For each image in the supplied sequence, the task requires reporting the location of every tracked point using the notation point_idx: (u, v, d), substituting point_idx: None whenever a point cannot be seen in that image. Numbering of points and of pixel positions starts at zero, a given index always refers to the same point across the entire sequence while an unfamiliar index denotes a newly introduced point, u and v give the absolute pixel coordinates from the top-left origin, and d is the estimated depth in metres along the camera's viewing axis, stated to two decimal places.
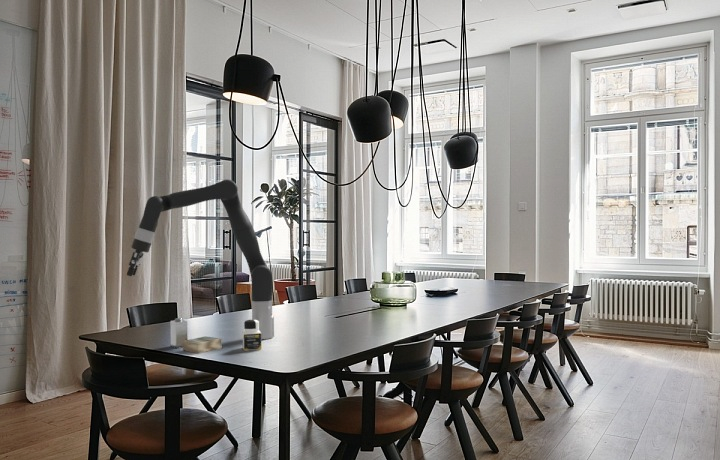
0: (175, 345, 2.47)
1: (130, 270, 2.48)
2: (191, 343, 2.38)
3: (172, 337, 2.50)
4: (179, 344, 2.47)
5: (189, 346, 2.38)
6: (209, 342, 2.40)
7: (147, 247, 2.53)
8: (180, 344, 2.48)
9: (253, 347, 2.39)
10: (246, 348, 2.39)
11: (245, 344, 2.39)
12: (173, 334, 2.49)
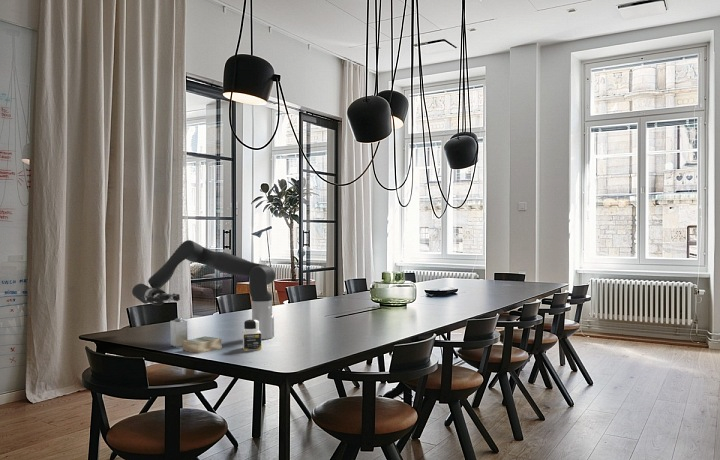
0: (175, 345, 2.47)
1: (154, 300, 2.57)
2: (191, 343, 2.38)
3: (172, 337, 2.50)
4: (179, 344, 2.47)
5: (189, 346, 2.38)
6: (209, 342, 2.40)
7: (152, 290, 2.68)
8: (180, 344, 2.48)
9: (253, 347, 2.39)
10: (246, 348, 2.39)
11: (245, 344, 2.39)
12: (173, 334, 2.49)
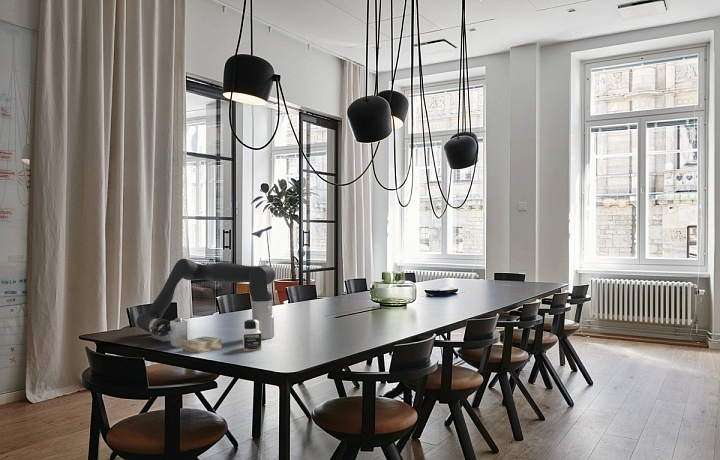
0: (175, 345, 2.47)
1: (159, 331, 2.54)
2: (191, 343, 2.38)
3: (172, 337, 2.50)
4: (179, 344, 2.47)
5: (189, 346, 2.38)
6: (209, 342, 2.40)
7: (157, 321, 2.64)
8: (180, 344, 2.48)
9: (253, 347, 2.39)
10: (246, 348, 2.39)
11: (245, 344, 2.39)
12: (173, 334, 2.49)
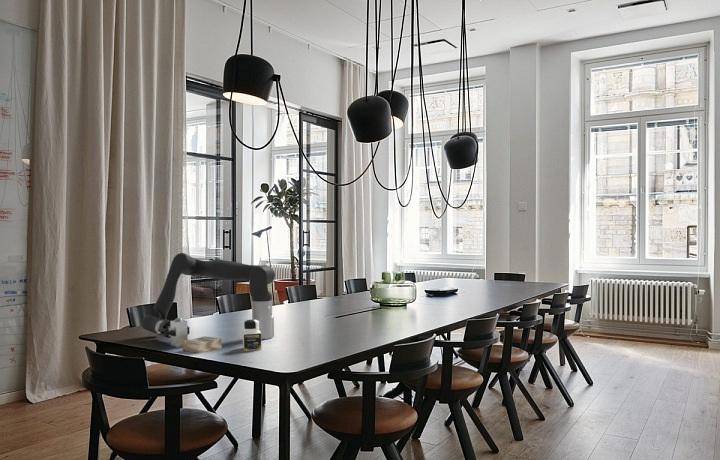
0: (175, 345, 2.47)
1: (170, 333, 2.48)
2: (191, 343, 2.38)
3: (172, 337, 2.50)
4: (179, 344, 2.47)
5: (189, 346, 2.38)
6: (209, 342, 2.40)
7: (163, 322, 2.58)
8: (180, 344, 2.48)
9: (253, 347, 2.39)
10: (246, 348, 2.39)
11: (245, 344, 2.39)
12: None
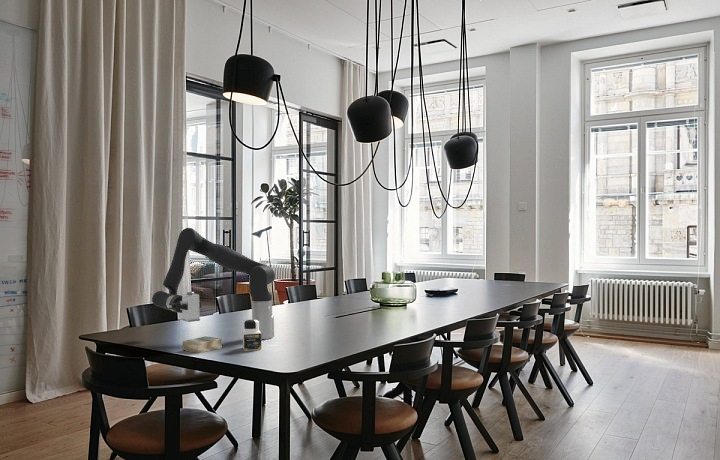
0: (187, 319, 2.43)
1: (182, 307, 2.44)
2: (191, 343, 2.38)
3: (183, 311, 2.46)
4: (191, 318, 2.44)
5: (189, 346, 2.38)
6: (209, 342, 2.40)
7: (174, 297, 2.54)
8: (192, 318, 2.44)
9: (253, 347, 2.39)
10: (246, 348, 2.39)
11: (245, 344, 2.39)
12: None
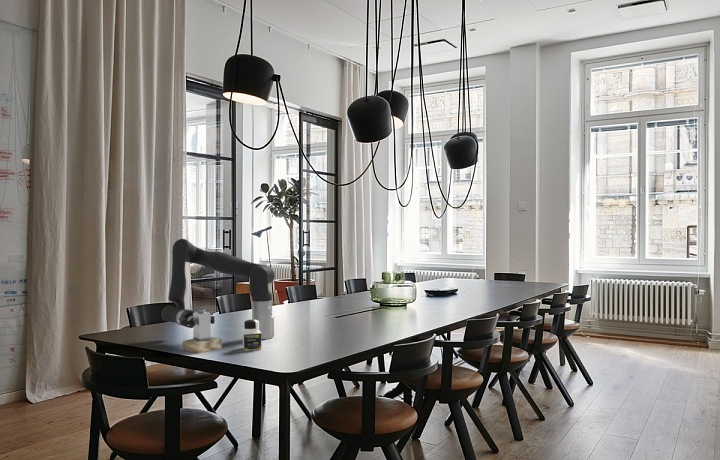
0: (198, 338, 2.40)
1: (189, 323, 2.40)
2: (191, 343, 2.38)
3: (194, 330, 2.42)
4: (202, 336, 2.40)
5: (189, 346, 2.38)
6: (209, 342, 2.40)
7: (185, 312, 2.51)
8: (203, 337, 2.40)
9: (253, 347, 2.39)
10: (246, 348, 2.39)
11: (245, 344, 2.39)
12: (195, 326, 2.42)
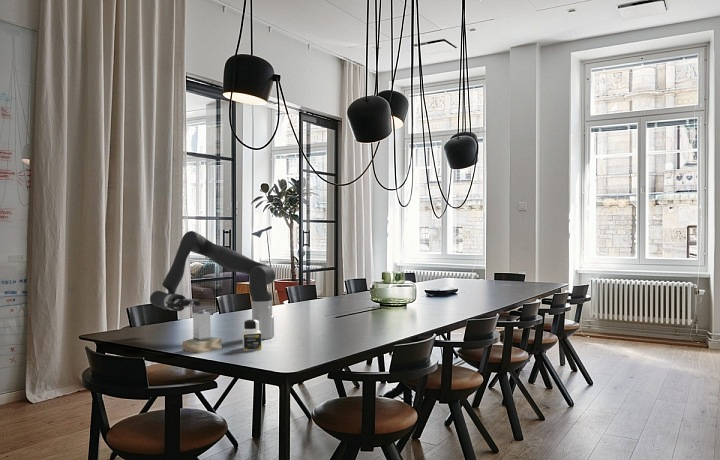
0: (198, 338, 2.40)
1: (175, 305, 2.52)
2: (191, 343, 2.38)
3: (194, 330, 2.42)
4: (202, 336, 2.40)
5: (189, 346, 2.38)
6: (209, 342, 2.40)
7: (172, 296, 2.62)
8: (203, 337, 2.40)
9: (253, 347, 2.39)
10: (246, 348, 2.39)
11: (245, 344, 2.39)
12: (195, 326, 2.42)
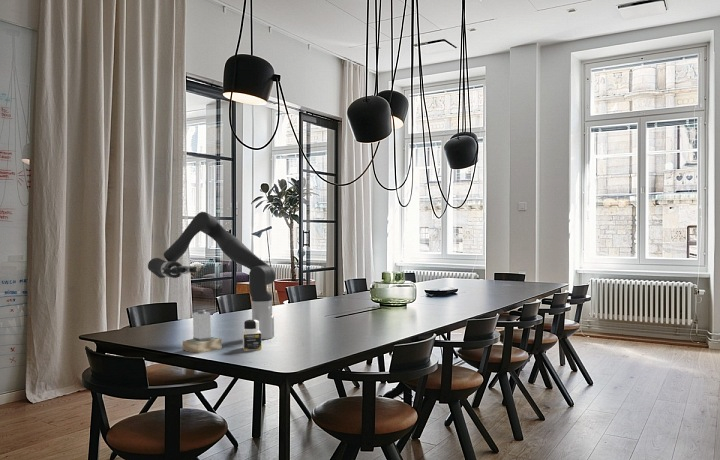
0: (198, 338, 2.40)
1: (172, 271, 2.56)
2: (191, 343, 2.38)
3: (194, 330, 2.42)
4: (202, 336, 2.40)
5: (189, 346, 2.38)
6: (209, 342, 2.40)
7: (169, 263, 2.67)
8: (203, 337, 2.40)
9: (253, 347, 2.39)
10: (246, 348, 2.39)
11: (245, 344, 2.39)
12: (195, 326, 2.42)
